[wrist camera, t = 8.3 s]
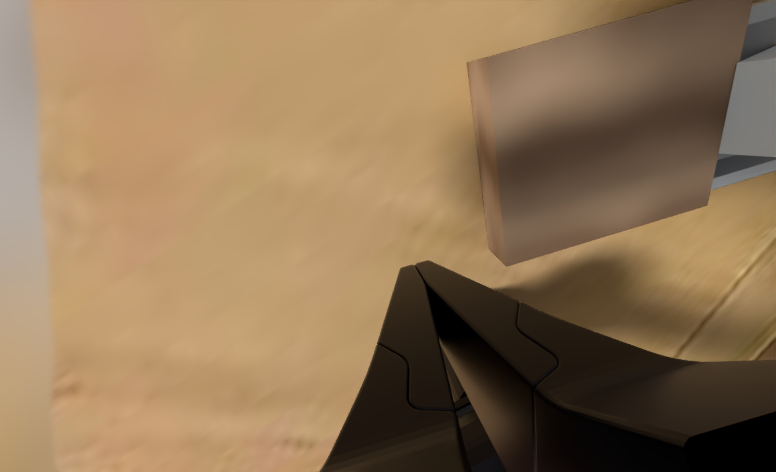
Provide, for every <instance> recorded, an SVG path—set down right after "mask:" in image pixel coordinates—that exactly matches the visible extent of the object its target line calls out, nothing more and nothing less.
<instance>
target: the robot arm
mask: <svg viewBox="0 0 776 472" xmlns="http://www.w3.org/2000/svg"><path fill="white" fill-rule="evenodd" d="M319 472H776V360H756V361H723V362H698V361H687V360H681V359H675V358H671V357H666V356H662V355H659V354H656V353H653V352H650V351H647V350H644V349H641V348H638V347H636V346H633V345H630V344H627V343H624V342H622V341H619V340H616V339H613V338H610V337H608V336H605V335H602V334H599V333H596V332H593V331H591V330H588V329H585V328H582V327H580V326H577V325H574V324H572V323H569V322H566V321H564V320H561V319H558V318H556V317H553V316H551V315H549V314H546V313H544V312H542V311H539V310H537V309H535V308H532V307H530V306H528V305H526V304H524V303H520V304H519V301H517V300H515V299H512V298H510V297H508V296H506V295H504V294H501V293H499V292H497V291H495V290H493V289H491V288H488V287H486V286H484V285H482V284H480V283H477V282H475V281H473V280H471V279H469V278H466V277H464V276H462V275H460V274H458V273H455V272H453V271H451V270H449V269H447V268H444V267H442V266H440V265H438V264H436V263H434V262H431V261H429V260H427V261H423V262H420V263H417V264H416V265H415V266H414V265H409V266H406V267H402V268H401V269H400V271H399V274H398V277H397V281H396V284H395V287H394V290H393V294H392V297H391V300H390V303H389V306H388V310H387V313H386V316H385V319H384V323H383V326H382V329H381V332H380V336H379V339H378V342H377V346H376V348H375V351H374V355H373V358H372V361H371V363H370V366H369V369H368V372H367V375H366V377H365V379H364V382H363V384H362V386H361V388H360V391H359V393H358V395H357V397H356V400H355V402H354V404H353V406H352V408H351V410H350V412H349V414H348V417H347V419H346V421H345V423H344V425H343V427H342V429H341V431H340V434H339V436H338V438H337V440H336V442H335V444H334V446H333V448H332V451H331V453H330V455H329V457H328V458H327V460H326V462H325V464H324V465H323V467H322V469H321V470H320V471H319Z"/></svg>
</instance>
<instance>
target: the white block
mask: <svg viewBox="0 0 776 472" xmlns="http://www.w3.org/2000/svg"><path fill="white" fill-rule="evenodd" d="M718 154H733V155H749V156H764V157H776V46H774V47H771V48H769V49H767V50H765V51H763V52H760V53H758V54H756V55H754V56H751V57H749V58H747V59H745V60H743V61H740V62H738V63H737V66H736V71H735V76H734V81H733V85H732V90H731V95H730V100H729V105H728V110H727V114H726V119H725V124H724V129H723V134H722V139H721V143H720V148H719V153H718Z"/></svg>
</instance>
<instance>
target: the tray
mask: <svg viewBox="0 0 776 472" xmlns="http://www.w3.org/2000/svg"><path fill="white" fill-rule="evenodd" d="M773 44H776V0H762V1H759V2H755V3H752V8H751V12H750V17H749V21H748V26H747V30H746V35H745V39H744V44H743V48H742V53H741V57H740V61H743V60H745V59H747V58H749V57H751V56H754V55H756V54H758V53H760V52H763V51H765V50H767V49H769V48H771V47H772V45H773ZM773 171H776V157H764V156H749V155H733V154H719V155H718V160H717V164H716V169H715V173H714V178H713V182H712V187H711V190H713V189H717V188H720V187H723V186H726V185H730V184H733V183H736V182H740V181H743V180H746V179H750V178H753V177H756V176H759V175H763V174H766V173H769V172H773Z"/></svg>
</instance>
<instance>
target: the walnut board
mask: <svg viewBox="0 0 776 472" xmlns="http://www.w3.org/2000/svg"><path fill="white" fill-rule="evenodd" d="M752 3H753V0H691V1H688V2H684V3H680V4H677V5H673V6H670V7H666V8H662V9H659V10H655V11H652V12H648V13H644V14H641V15H637V16H634V17H630V18H626V19H623V20H619V21H616V22H612V23H608V24H605V25H601V26H598V27H594V28H590V29H587V30H583V31H580V32H576V33H572V34H569V35H565V36H562V37H558V38H554V39H551V40H547V41H544V42H540V43H537V44H533V45H529V46H526V47H522V48H519V49H515V50H511V51H508V52H504V53H501V54H497V55H493V56H490V57H486V58H483V59H479V60H475V61H472V62H468V63H467V67H468V76H469V84H470V93H471V101H472V109H473V118H474V126H475V135H476V143H477V152H478V160H479V169H480V177H481V186H482V194H483V203H484V211H485V220H486V228H487V237H488V245H489V250H490V251H491V252H492V253H493V254H494V255H495V256H496V257H497V258H498V259H499V260H500V261H501V262H502V263H503V264H504V265H505V266H506V267H507V266H510V265H514V264H517V263H520V262H523V261H527V260H530V259H533V258H537V257H540V256H543V255H546V254H550V253H553V252H556V251H560V250H563V249H566V248H569V247H573V246H576V245H579V244H582V243H586V242H589V241H592V240H596V239H599V238H602V237H605V236H609V235H612V234H615V233H619V232H622V231H625V230H628V229H632V228H635V227H638V226H642V225H645V224H648V223H651V222H655V221H658V220H661V219H664V218H668V217H671V216H674V215H678V214H681V213H684V212H687V211H691V210H694V209H697V208H701V207H704V206H707V204H708V200H709V196H710V191H711V187H712V182H713V178H714V173H715V169H716V164H717V160H718V155H719V154H718V153H719V148H720V143H721V139H722V134H723V129H724V124H725V119H726V114H727V110H728V105H729V100H730V95H731V90H732V85H733V81H734V76H735V71H736V66H737V63H738V62H740V57H741V53H742V48H743V44H744V39H745V35H746V30H747V26H748V21H749V17H750V12H751V8H752Z"/></svg>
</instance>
